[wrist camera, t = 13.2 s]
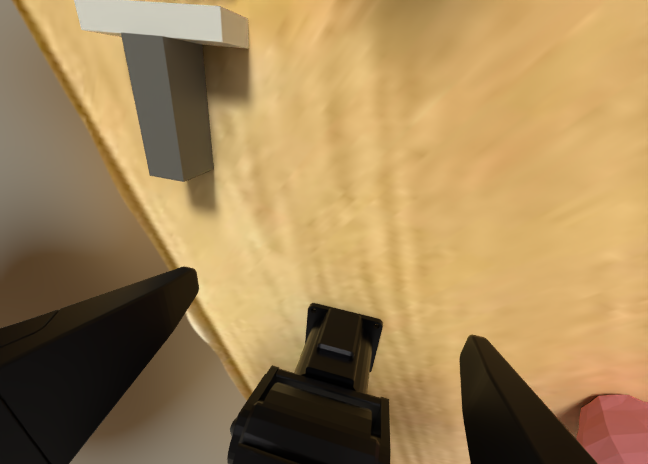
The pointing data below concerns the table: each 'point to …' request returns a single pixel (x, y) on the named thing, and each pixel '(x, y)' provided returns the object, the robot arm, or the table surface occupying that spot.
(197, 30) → the pusher
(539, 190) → the table surface
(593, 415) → the apple
